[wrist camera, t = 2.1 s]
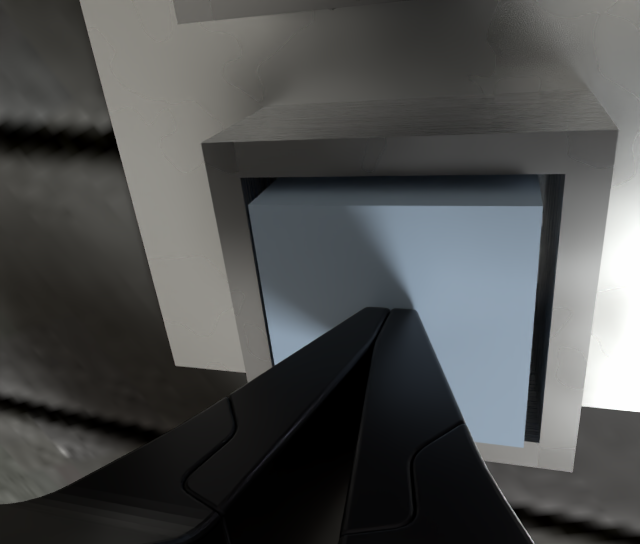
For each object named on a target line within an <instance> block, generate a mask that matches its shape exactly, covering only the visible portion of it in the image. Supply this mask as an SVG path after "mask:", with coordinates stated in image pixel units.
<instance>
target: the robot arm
mask: <svg viewBox="0 0 640 544" xmlns="http://www.w3.org/2000/svg"><path fill="white" fill-rule="evenodd" d="M0 544H535V543H534V541H533V540H532V538H531V537H530V535H529V534H528V532H527V531H526V529H525V528H524V526H523V525H522V523H521V522H520V520H519V518H518V517H517V515H516V514H515V512H514V511H513V509H512V508H511V506H510V505H509V503H508V502H507V500H506V498H505V497H504V495H503V494H502V492H501V490H500V489H499V487H498V485H497V484H496V482H495V480H494V479H493V477H492V475H491V474H490V472H489V470H488V469H487V467H486V465H485V463H484V461H483V459H482V456H481V454H480V452H479V450H478V448H477V446H476V444H475V442H474V440H473V438H472V435H471V433H470V431H469V428H468V426H467V425H466V422H465V420H464V418H463V415H462V413H461V411H460V408H459V406H458V404H457V401H456V399H455V397H454V395H453V392H452V390H451V388H450V385H449V383H448V381H447V378H446V376H445V374H444V372H443V369H442V367H441V365H440V362H439V360H438V358H437V355H436V353H435V351H434V349H433V346H432V344H431V342H430V339H429V337H428V335H427V332H426V330H425V328H424V326H423V323H422V321H421V319H420V316H419V314H418V312H417V311H416V310H415V309H402V308H394V309H392V310H391V311H390V309H388V308H384V307H365V308H363V309H362V310H360V311H359V312H357V313H356V314H354V315H352V316H351V317H349V318H348V319H346V320H345V321H343V322H341V323H340V324H338V325H337V326H335V327H334V328H332V329H331V330H329V331H327V332H326V333H324V334H323V335H321V336H320V337H318V338H317V339H315V340H313V341H312V342H310V343H309V344H307V345H306V346H304V347H303V348H301V349H299V350H298V351H296V352H295V353H293V354H292V355H290V356H289V357H287V358H285V359H284V360H282V361H281V362H279V363H278V364H276V365H275V366H273V367H271V368H270V369H268V370H267V371H265V372H264V373H262V374H261V375H259V376H257V377H256V378H254V379H253V380H251V381H250V382H248V383H247V384H245V385H243V386H242V387H240V388H239V389H237V390H236V391H234V392H232V393H231V394H230V395H229V398H228V397H224V398H223V399H221V400H220V401H218V402H217V403H215V404H214V405H212V406H210V407H209V408H207V409H206V410H204V411H202V412H201V413H199V414H197V415H196V416H194V417H193V418H191V419H189V420H188V421H186V422H184V423H183V424H181V425H179V426H178V427H176V428H174V429H172V430H170V431H169V432H167V433H165V434H163V435H161V436H160V437H158V438H156V439H154V440H152V441H151V442H149V443H147V444H145V445H143V446H141V447H139V448H137V449H136V450H134V451H132V452H130V453H128V454H126V455H124V456H122V457H121V458H119V459H117V460H115V461H113V462H111V463H109V464H107V465H105V466H104V467H102V468H100V469H98V470H96V471H94V472H92V473H90V474H89V475H87V476H85V477H83V478H81V479H79V480H77V481H75V482H73V483H72V484H70V485H68V486H66V487H64V488H62V489H59V490H57V491H55V492H53V493H50V494H47V495H45V496H42V497H39V498H35V499H32V500H28V501H24V502H18V503H12V504H0Z"/></svg>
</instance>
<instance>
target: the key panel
mask: <svg viewBox="0 0 640 544" xmlns="http://www.w3.org/2000/svg"><path fill="white" fill-rule="evenodd" d="M80 4H81V8H82V12H83V16H84V19H85V23H86V27H87V31H88V35H89V39H90V42H91V46H92V50H93V54H94V58H95V61H96V65H97V69H98V73H99V77H100V80H101V84H102V88H103V92H104V96H105V99H106V103H107V107H108V111H109V115H110V118H111V122H112V126H113V130H114V134H115V137H116V141H117V145H118V149H119V153H120V157H121V160H122V164H123V168H124V172H125V176H126V179H127V183H128V187H129V191H130V195H131V198H132V202H133V206H134V210H135V214H136V217H137V221H138V225H139V229H140V233H141V236H142V240H143V244H144V248H145V252H146V255H147V259H148V263H149V267H150V271H151V275H152V278H153V282H154V286H155V290H156V294H157V297H158V301H159V305H160V309H161V313H162V316H163V320H164V324H165V328H166V332H167V335H168V339H169V343H170V347H171V351H172V354H173V358H174V362H175V366H183V367H193V368H203V369H213V370H223V371H233V372H243V373H246V376H247V381H248V382H250V381H251V380H253V379H254V378H256V377H257V376H259V375H261V374H262V373H264V372H265V371H267V370H268V369H270V368H271V367H273V366H275V364H274V358H273V352H272V346H271V340H270V334H269V328H268V322H267V316H266V310H265V304H264V298H263V292H262V286H261V280H260V274H259V268H258V262H257V256H256V250H255V244H254V238H253V232H252V226H251V220H250V214H249V208H248V205H249V204H250V203H251V202H252V201H253V200H254V199H255V198H256V197H258V196H259V195H260V194H261V193H262V192H263V191H264V190H265V189H266V188H267V187H268V186H270V185H271V184H272V183H273V182H274V181H275V180H276V179H277V178H278V177H342V176H428V175H513V174H538V179H539V185H540V191H541V197H542V204H543V212H542V224H541V237H540V249H539V262H538V274H537V287H536V299H535V312H534V324H533V337H532V349H531V361H530V374H529V386H528V399H527V411H526V424H525V436H524V448H520V447H512V446H504V445H496V444H488V443H480V442H475V444H476V446H477V448H478V450H479V452H480V454H481V456H482V459H483V461H491V462H498V463H506V464H513V465H521V466H529V467H536V468H544V469H551V470H559V471H567V472H573V465H574V457H575V450H576V443H577V435H578V428H579V420H580V413H581V406H585V407H595V408H605V409H615V410H625V411H635V412H640V0H80Z"/></svg>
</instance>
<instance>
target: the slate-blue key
mask: <svg viewBox="0 0 640 544" xmlns="http://www.w3.org/2000/svg"><path fill="white" fill-rule="evenodd" d="M248 208H249V214H250V220H251V226H252V232H253V238H254V244H255V250H256V256H257V262H258V268H259V274H260V280H261V286H262V292H263V298H264V304H265V310H266V316H267V322H268V328H269V334H270V340H271V346H272V352H273V358H274V364H275V365H276V364H278V363H279V362H281V361H282V360H284V359H285V358H287V357H289V356H290V355H292V354H293V353H295V352H296V351H298V350H299V349H301V348H303V347H304V346H306V345H307V344H309V343H310V342H312V341H313V340H315V339H317V338H318V337H320V336H321V335H323V334H324V333H326V332H327V331H329V330H331V329H332V328H334V327H335V326H337V325H338V324H340V323H341V322H343V321H345V320H346V319H348V318H349V317H351V316H352V315H354V314H356V313H357V312H359V311H360V310H362V309H363V308H365V307H384V308H388V309H390V311H391V310H392V309H394V308H402V309H415V310H416V311H417V312H418V314H419V316H420V319H421V321H422V323H423V326H424V328H425V330H426V332H427V335H428V337H429V339H430V342H431V344H432V346H433V349H434V351H435V353H436V355H437V358H438V360H439V362H440V365H441V367H442V369H443V372H444V374H445V376H446V378H447V381H448V383H449V385H450V388H451V390H452V392H453V395H454V397H455V399H456V401H457V404H458V406H459V408H460V411H461V413H462V415H463V418H464V420H465V422H466V425H467V426H468V428H469V431H470V433H471V435H472V438H473V440H474V442H480V443H488V444H496V445H504V446H512V447H520V448H524V436H525V424H526V411H527V399H528V386H529V374H530V361H531V349H532V337H533V324H534V312H535V299H536V287H537V274H538V262H539V249H540V237H541V224H542V212H543V204H542V197H541V191H540V185H539V179H538V174H513V175H428V176H342V177H278V178H277V179H276V180H275V181H274V182H273V183H272V184H271V185H270V186H268V187H267V188H266V189H265V190H264V191H263V192H262V193H261V194H260V195H259V196H258V197H256V198H255V199H254V200H253V201H252V202H251V203H250V204H249V205H248Z"/></svg>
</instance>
